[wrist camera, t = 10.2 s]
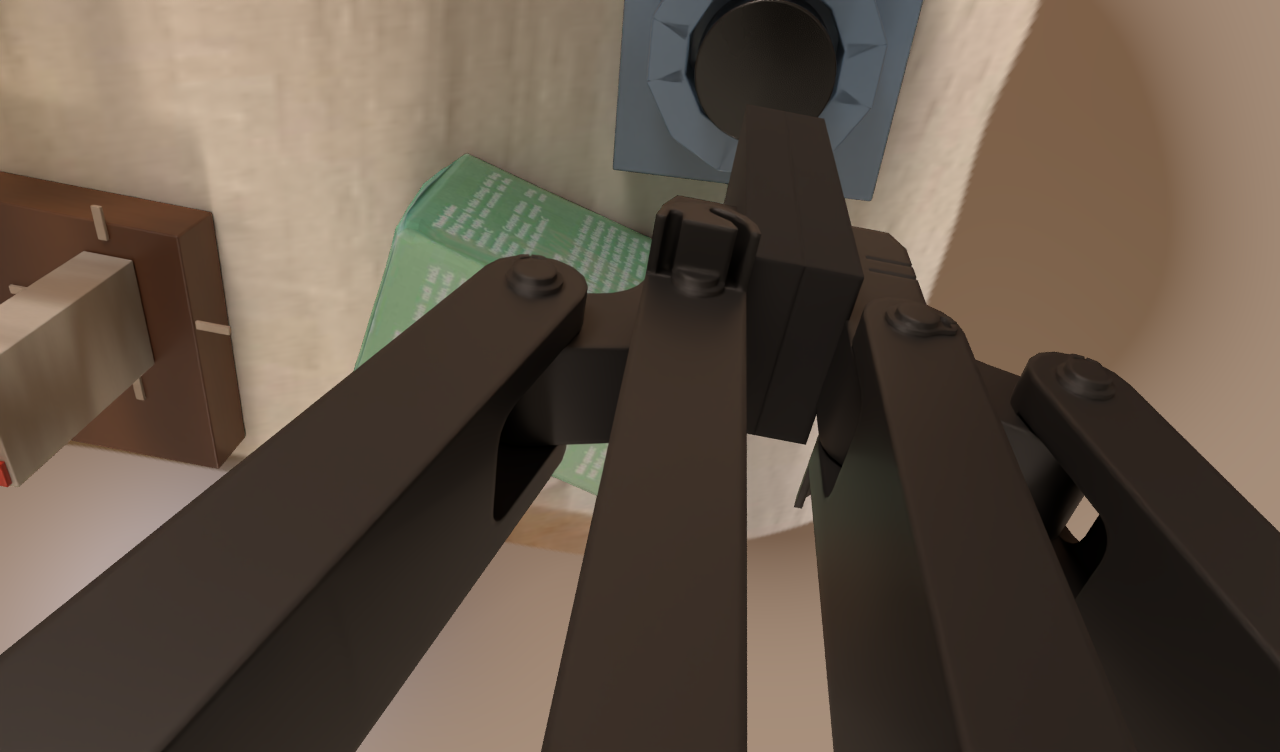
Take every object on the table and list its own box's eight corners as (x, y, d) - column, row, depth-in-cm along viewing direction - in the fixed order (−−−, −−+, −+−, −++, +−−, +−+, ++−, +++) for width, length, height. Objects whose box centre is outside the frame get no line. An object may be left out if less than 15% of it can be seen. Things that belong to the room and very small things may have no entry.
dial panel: (248, 203, 33) (213, 229, 31) (277, 443, 41) (250, 478, 38) (-176, 121, 34) (-241, 142, 31) (-73, 375, 41) (-120, 406, 39)
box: (456, 142, 31) (383, 224, 25) (774, 288, 33) (780, 397, 27) (407, 295, 35) (335, 398, 29) (693, 417, 37) (682, 538, 31)
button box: (864, 179, 30) (878, 223, 27) (620, 149, 31) (604, 189, 27) (934, -104, 25) (962, -93, 22) (641, -136, 26) (625, -129, 22)
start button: (816, 134, 26) (820, 152, 24) (689, 119, 26) (686, 136, 25) (845, -4, 24) (851, 7, 22) (706, -20, 24) (703, -10, 22)
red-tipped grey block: (83, 250, 33) (-93, 363, 26) (132, 259, 33) (-30, 375, 26) (109, 354, 35) (-43, 481, 29) (155, 363, 35) (13, 492, 29)
